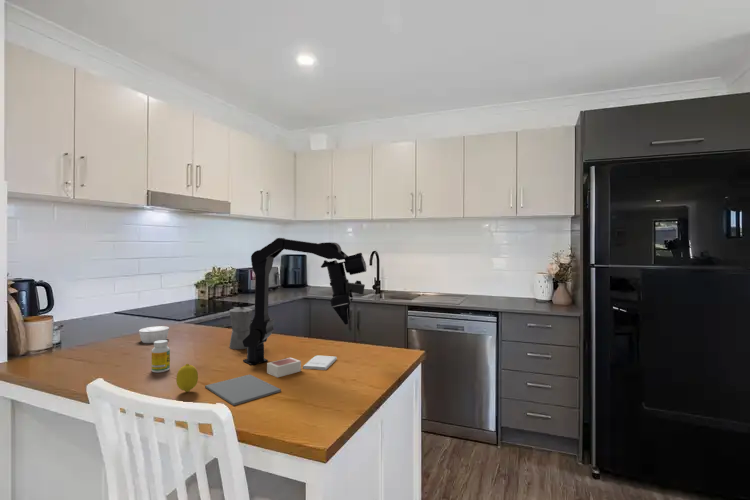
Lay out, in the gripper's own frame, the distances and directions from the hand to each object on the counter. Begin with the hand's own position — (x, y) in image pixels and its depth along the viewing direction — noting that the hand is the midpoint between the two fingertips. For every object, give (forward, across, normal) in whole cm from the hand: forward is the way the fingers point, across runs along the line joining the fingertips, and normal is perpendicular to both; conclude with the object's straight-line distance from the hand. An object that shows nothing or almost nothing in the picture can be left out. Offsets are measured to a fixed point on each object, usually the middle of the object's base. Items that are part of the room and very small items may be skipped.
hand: (347, 321), depth 135 cm
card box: (+11, -7, +23) cm, 26 cm away
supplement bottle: (+1, -6, +63) cm, 63 cm away
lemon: (+6, -25, +46) cm, 52 cm away
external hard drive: (+13, +2, +13) cm, 19 cm away
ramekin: (-5, +33, +87) cm, 93 cm away
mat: (+9, -22, +31) cm, 40 cm away
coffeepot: (+4, +25, +48) cm, 54 cm away
